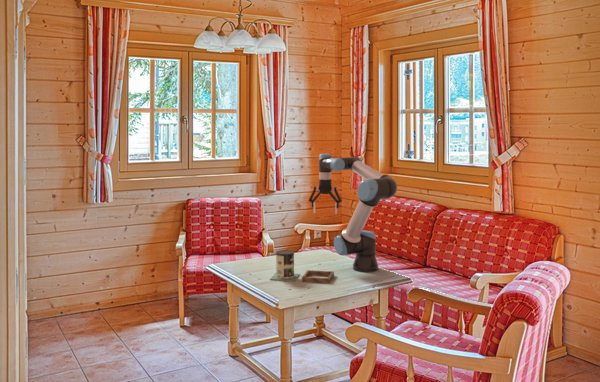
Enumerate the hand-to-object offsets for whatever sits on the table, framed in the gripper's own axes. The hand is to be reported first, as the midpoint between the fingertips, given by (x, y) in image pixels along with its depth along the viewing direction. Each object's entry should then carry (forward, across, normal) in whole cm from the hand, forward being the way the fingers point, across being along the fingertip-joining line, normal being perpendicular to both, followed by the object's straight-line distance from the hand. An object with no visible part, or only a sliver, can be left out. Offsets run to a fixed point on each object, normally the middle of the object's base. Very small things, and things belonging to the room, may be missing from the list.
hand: (325, 213), depth 362 cm
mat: (+32, -17, -36) cm, 51 cm away
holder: (+32, +2, -35) cm, 47 cm away
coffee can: (+31, -17, -36) cm, 51 cm away
